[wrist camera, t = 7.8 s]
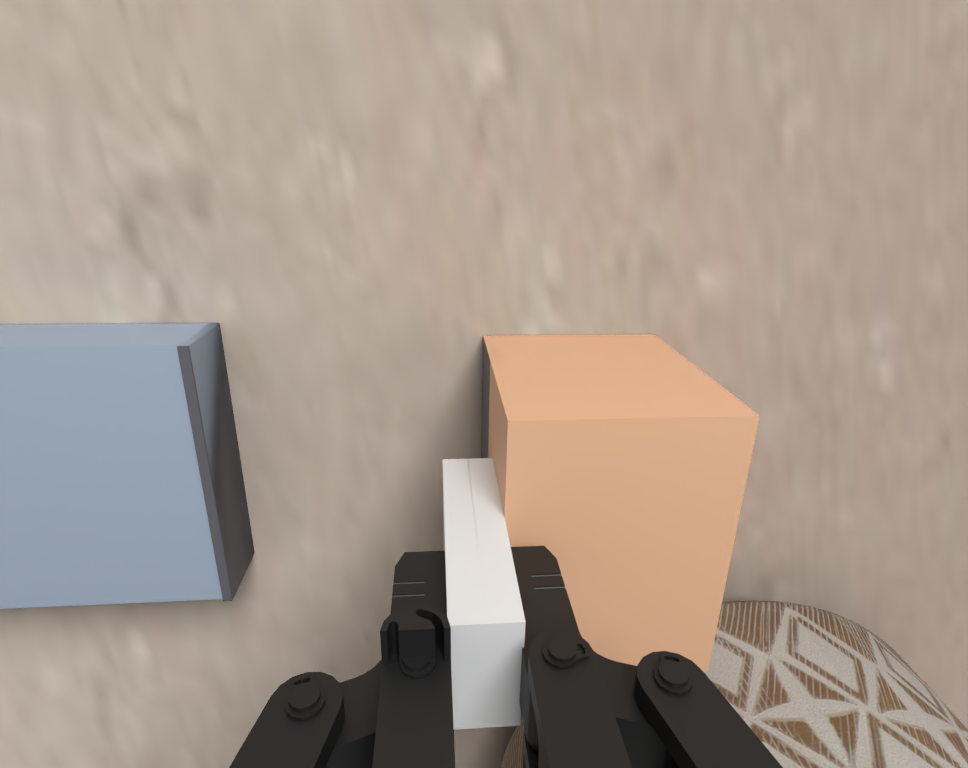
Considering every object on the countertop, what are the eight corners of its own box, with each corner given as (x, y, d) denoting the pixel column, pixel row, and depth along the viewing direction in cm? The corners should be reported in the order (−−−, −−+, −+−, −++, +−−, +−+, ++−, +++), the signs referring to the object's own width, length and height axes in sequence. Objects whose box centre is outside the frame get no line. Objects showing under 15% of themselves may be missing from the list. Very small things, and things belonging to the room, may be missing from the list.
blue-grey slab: (-145, 567, 21) (-221, 620, 18) (-254, 326, 18) (-363, 351, 15) (254, 552, 22) (232, 600, 20) (219, 323, 19) (187, 346, 16)
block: (480, 533, 23) (499, 683, 16) (483, 335, 20) (508, 420, 13) (630, 527, 23) (707, 671, 17) (654, 334, 20) (759, 415, 14)
